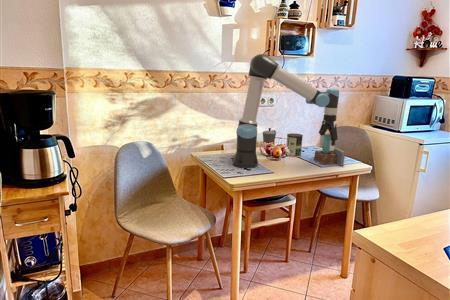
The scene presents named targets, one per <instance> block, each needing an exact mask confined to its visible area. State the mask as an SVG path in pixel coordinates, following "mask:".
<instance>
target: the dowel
mask: <svg viewBox="0 0 450 300" xmlns="http://www.w3.org/2000/svg"><path fill="white" fill-rule="evenodd" d="M330 140H331V136H330V133H329V134H328V133H325V134H324V140H323V145H322V150H321V151H322V153H323V154H329V153H330V151H329V148H330Z"/></svg>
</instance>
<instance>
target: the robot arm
mask: <svg viewBox="0 0 450 300" xmlns="http://www.w3.org/2000/svg"><path fill="white" fill-rule="evenodd" d="M248 77H249V84H248V88H247V93H246V98H245V104H244V107H243V113H242V117H241V118H240V119H239V120H238V126H237V128H236V149H235V150H236V152H235V154H234V157H233V159H232V165H233V164H234V165H233V166H235V167H237V166H238V168H242V167H246V168H245V169H248V168H247V167H253V168H256V167H255V166H257V165H258V166H259V160H258V155H257V139H258V125H259V123H258V122H257V115H258V112H259V106H260V103H261V98H262V93H263V88H264V84H265V82H266V81H267V80H268V79H269V80H273V81H275V82H277V83H279V84H280V85H282V86H284V87H285V88H287V89H289V90H291V91H292V92H294V93H296V94H297V95H299V96H301V97H302V98H304V99H305V103H306V104H309V105H315V106H317V107H318V108H324V109H323V110H324V111H323V120H322V121H321V125H320V127H319V128H320V129H319V130H318V134H319V144H318V145H319V146H323V140H324V134H327V133H326V132H327V131H328V133H329V135H330V136H331V140H330V148H329V151H334V147H336V146H335V145H336V141H338V139H339V138H338V131H337V129H338V128H337V123H334V122H336V121H337V114H338V106H339V105H338V104H339V99H340V90H339V89H337V88H327V89H326V91H320V90H318V89H317V88H316V87H313V86H312V85H311V84H309V83H307V82H306V81H303V80H302V79H300V78H299V77H297V76H295V75H294V74H293V73H290V72H289V71H287V70H286V69H284V68H283V67H281V66H280V64H279V63H278V62H276V61H275V60H274V59H272V58H271V57H269V56H268V55H266V54H265V53H259V54H256V55H254V57H252V58H251V60H250V62H249V71H248ZM258 166H257V167H258Z"/></svg>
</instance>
